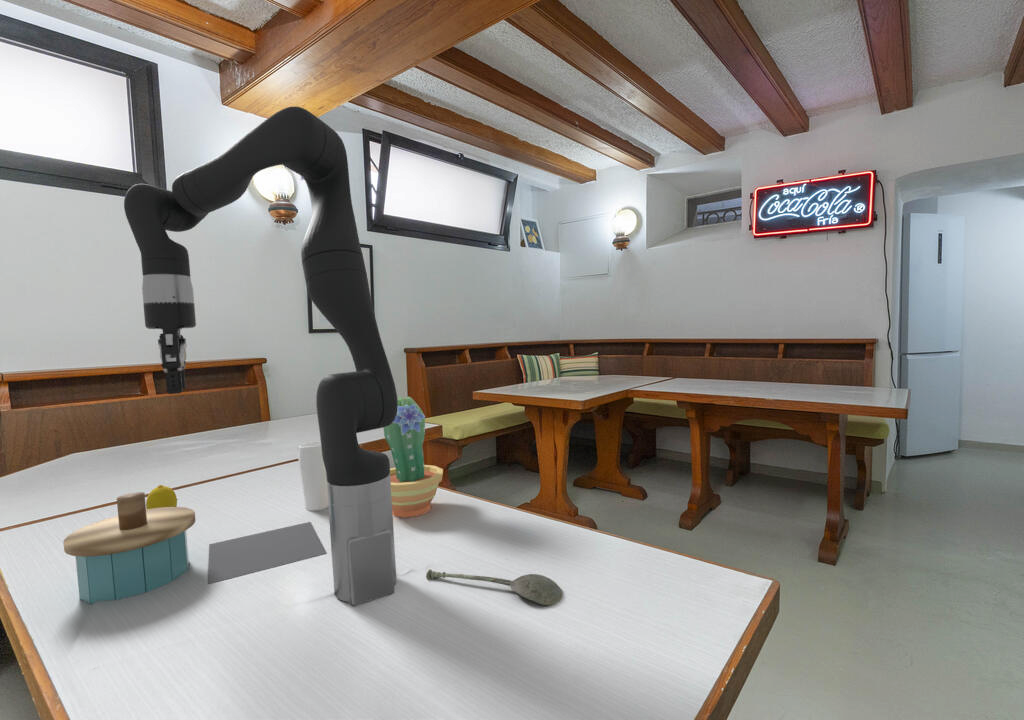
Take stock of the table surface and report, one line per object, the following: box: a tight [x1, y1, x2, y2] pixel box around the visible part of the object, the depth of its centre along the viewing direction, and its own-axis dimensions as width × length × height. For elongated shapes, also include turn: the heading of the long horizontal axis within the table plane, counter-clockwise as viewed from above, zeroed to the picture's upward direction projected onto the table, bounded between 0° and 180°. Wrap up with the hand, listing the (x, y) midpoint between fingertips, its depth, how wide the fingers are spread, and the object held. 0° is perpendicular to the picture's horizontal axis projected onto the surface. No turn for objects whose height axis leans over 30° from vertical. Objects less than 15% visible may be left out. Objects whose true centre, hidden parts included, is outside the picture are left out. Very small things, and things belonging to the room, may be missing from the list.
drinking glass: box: [297, 439, 329, 512], centre depth 111 cm, size 7×7×15 cm
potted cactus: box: [383, 396, 444, 518], centre depth 107 cm, size 15×15×25 cm
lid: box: [62, 491, 196, 557], centre depth 80 cm, size 17×17×6 cm
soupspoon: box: [425, 569, 563, 607], centre depth 73 cm, size 22×3×7 cm
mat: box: [206, 521, 328, 585], centre depth 89 cm, size 18×18×1 cm
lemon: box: [145, 484, 178, 510], centre depth 107 cm, size 6×6×8 cm
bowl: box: [75, 530, 190, 605], centre depth 80 cm, size 14×14×8 cm
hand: (176, 391), depth 88 cm, fingers open, 8 cm apart
